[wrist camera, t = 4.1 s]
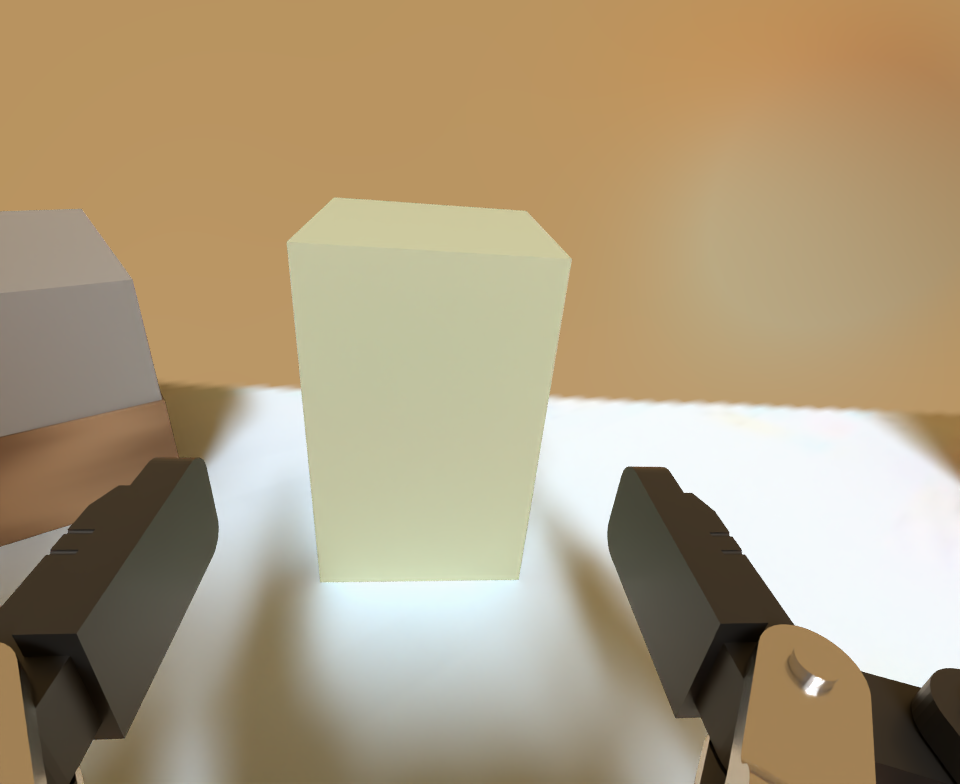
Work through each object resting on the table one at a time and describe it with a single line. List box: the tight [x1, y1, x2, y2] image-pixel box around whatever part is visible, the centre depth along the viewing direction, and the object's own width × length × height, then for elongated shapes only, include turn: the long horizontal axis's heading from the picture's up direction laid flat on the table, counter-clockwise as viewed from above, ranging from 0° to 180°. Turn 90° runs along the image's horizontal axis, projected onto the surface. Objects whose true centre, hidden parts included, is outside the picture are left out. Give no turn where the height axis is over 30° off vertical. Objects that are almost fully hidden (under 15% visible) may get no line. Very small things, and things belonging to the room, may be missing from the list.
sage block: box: [287, 198, 572, 582], centre depth 16 cm, size 6×6×10 cm
